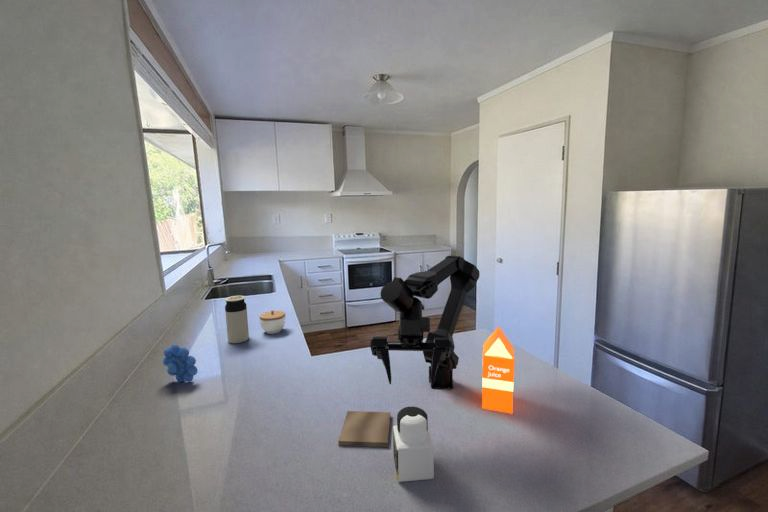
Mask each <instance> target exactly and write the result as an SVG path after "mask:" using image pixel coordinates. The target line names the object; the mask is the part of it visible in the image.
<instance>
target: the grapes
mask: <svg viewBox="0 0 768 512" xmlns="http://www.w3.org/2000/svg"><path fill="white" fill-rule="evenodd" d="M163 355H164V358H163V359H162V364H163V365H164V366H166V367H167V370H166V371H167V374H168V375H169V376H172V377H175V380H176V381H177V382H179V383H181V382H184V381H185V382H189V383H190V382H192V381H193V379H194V376H196V375H197V374H198V367H197V366H196V363H197V359H196V358H195V357H194V356H192V355H190V351H189V350H188V348H187V347H180V346H179V345H178V344H172V345H171V346H170V347H168V348H165V349H164V351H163Z"/></svg>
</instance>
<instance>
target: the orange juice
mask: <svg viewBox="0 0 768 512" xmlns="http://www.w3.org/2000/svg"><path fill="white" fill-rule="evenodd" d="M482 347H483V348H482V363H481V364H482V379H481V380H482V381H481V384H482V385H481V386H482V388H481V391H482V392H481V393H482V394H481V409H484V410H490V411H496V412H501V413H507V414H514V413H513V406H514V387H515V382H514V381H515V380H514V379H515V352H514V351H515V350H514V345H512V343H511V341H509V339H508V337H507V336H506V334H505V333H504V332H503V330H502V328H500V326H499V325H498V326H497V327H496V328H495V330H494V331H493V332H492V333H491V334H490V336H488V338H487V339H486V340H485V342H483V346H482Z"/></svg>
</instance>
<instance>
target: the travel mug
mask: <svg viewBox="0 0 768 512" xmlns="http://www.w3.org/2000/svg"><path fill="white" fill-rule="evenodd" d="M245 299H246V297H245V296H244V295H232V296H228V297H225V298H224V301H225V302H226V304H225V306H224V311H225V313H224V314H225V323H226V333H227V342H228V343H230V344H241V343H244V342H246V341H248V340H249V338H250V334H249V322H248V320H249V319H248V310H247V309H248V308H247V307H248V306H247V303H246V302H245Z"/></svg>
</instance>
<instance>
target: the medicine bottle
mask: <svg viewBox="0 0 768 512" xmlns="http://www.w3.org/2000/svg"><path fill="white" fill-rule="evenodd" d="M396 415H397V416H396V419H397V420H396V425H393V427H392V440H393V441H392V442H393V443H392V445H393V460H394V467H395V472H396V479H397V482H398V483H403V482H415V481H424V480H426V481H427V480H433V479H434V477H435V475H434V474H435V472H434V471H435V470H434V468H435V467H434V466H435V465H434V463H435V462H434V461H435V460H434V457H435V456H434V455H435V454H434V453H435V451H434V450H435V449H434V447H435V446H434V444H433V440H432V437H431V434H430V431H429V427H428V422H429V420H428V414H427V413H426V411H425V410H424V409H422V408H421V407H418V406H406V407H403V408H401V409H400V410H399V411H398V413H397V414H396Z"/></svg>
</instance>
